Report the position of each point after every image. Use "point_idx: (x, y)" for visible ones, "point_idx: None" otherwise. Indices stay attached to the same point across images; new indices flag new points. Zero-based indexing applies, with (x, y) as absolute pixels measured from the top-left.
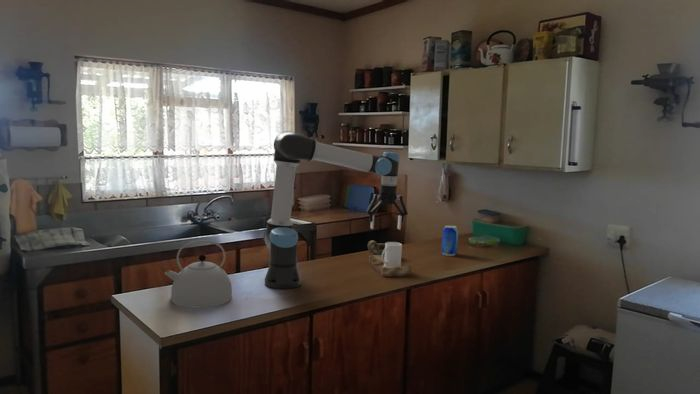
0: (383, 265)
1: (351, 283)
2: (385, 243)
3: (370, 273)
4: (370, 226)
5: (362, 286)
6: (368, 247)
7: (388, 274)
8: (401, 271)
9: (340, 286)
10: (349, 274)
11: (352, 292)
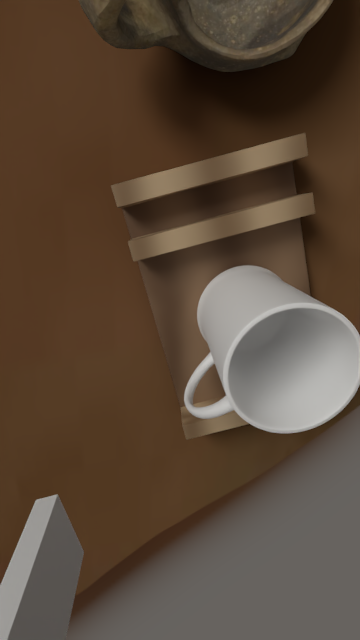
0: (201, 268)
1: None
2: (225, 370)
3: (128, 375)
4: (28, 518)
5: (98, 536)
6: (91, 23)
7: None
8: None
9: None
10: (28, 407)
11: None
